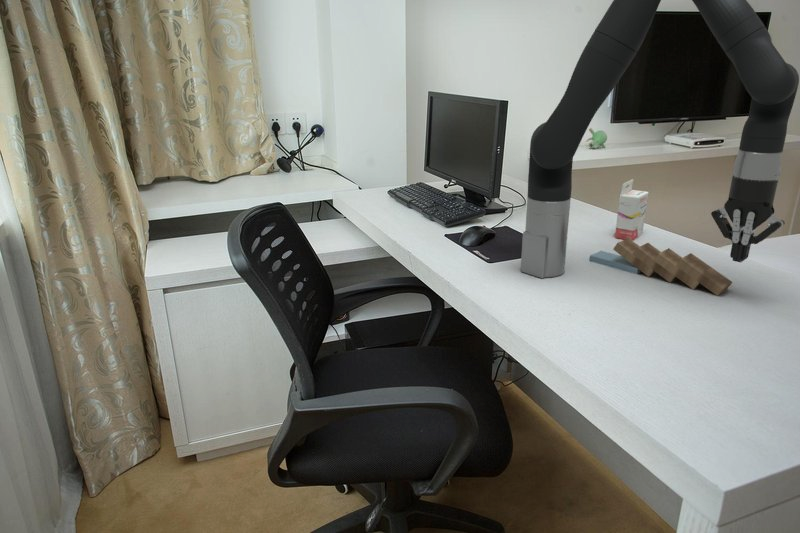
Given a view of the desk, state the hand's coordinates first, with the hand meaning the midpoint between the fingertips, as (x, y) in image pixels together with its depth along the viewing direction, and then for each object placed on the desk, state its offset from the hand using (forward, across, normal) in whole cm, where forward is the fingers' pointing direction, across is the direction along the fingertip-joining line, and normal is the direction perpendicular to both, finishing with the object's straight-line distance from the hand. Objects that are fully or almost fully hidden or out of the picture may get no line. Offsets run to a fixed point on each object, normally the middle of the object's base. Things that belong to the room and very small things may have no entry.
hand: (738, 260), depth 115 cm
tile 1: (+7, -1, 0) cm, 7 cm away
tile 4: (+7, -16, 0) cm, 17 cm away
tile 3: (+7, -11, 0) cm, 13 cm away
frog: (+8, -120, +143) cm, 187 cm away
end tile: (+7, -19, 0) cm, 20 cm away
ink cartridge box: (+8, -34, +22) cm, 42 cm away
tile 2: (+7, -6, 0) cm, 9 cm away
